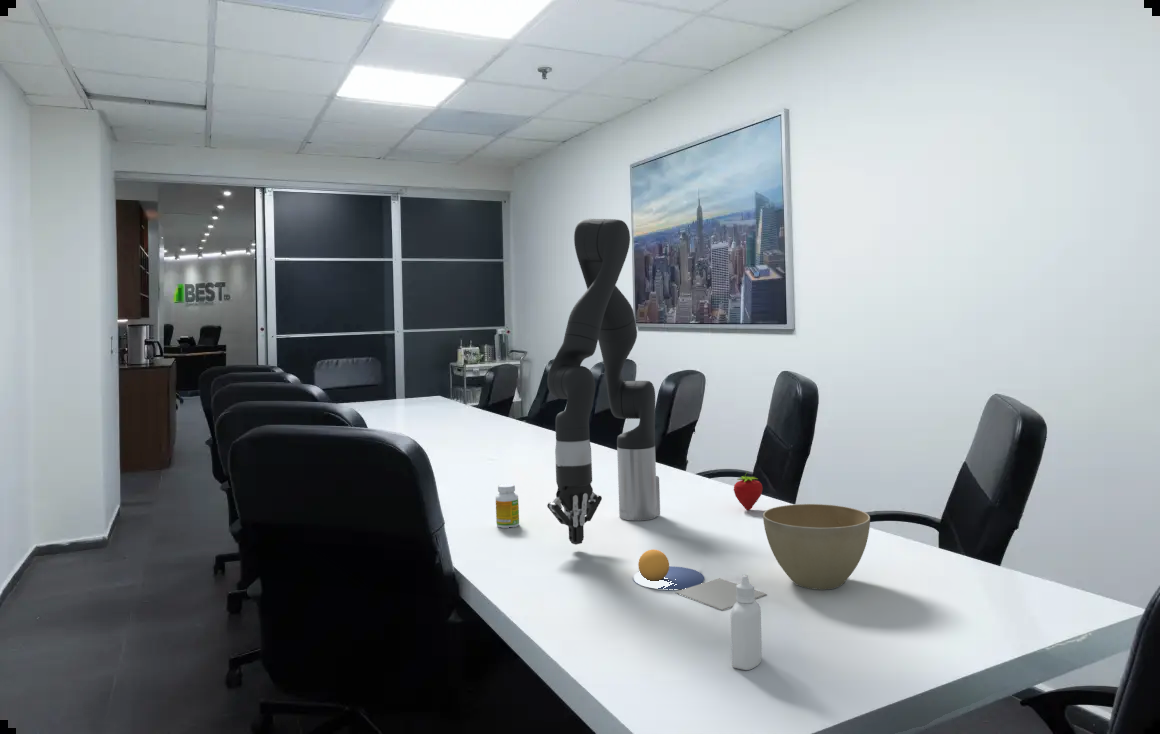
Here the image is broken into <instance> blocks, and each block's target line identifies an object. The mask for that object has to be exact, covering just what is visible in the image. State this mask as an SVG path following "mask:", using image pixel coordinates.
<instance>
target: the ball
mask: <svg viewBox="0 0 1160 734" xmlns="http://www.w3.org/2000/svg"><path fill="white" fill-rule="evenodd" d="M639 557H640V558H639V559H638V564H637V565H638V572H639V571H640V573H641V575H642V576H643V577H644V578H646V579H647V580H650V581H659V580H661V579H663V578H664V577H665V576H666V575H667V573H668V570H669V566H670V562H669V559H668V557H667V555H666V554H665V553H664V552H662V551H661V550H658V549H648V550H646V551H644V552H643V553H642V554H641V556H639Z"/></svg>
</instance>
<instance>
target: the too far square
mask: <svg viewBox="0 0 1160 734" xmlns="http://www.w3.org/2000/svg"><path fill="white" fill-rule="evenodd" d="M738 584H739V583H735V582H733V581H729V580H726V579H723V578H721V577H719V578H716V579H712V580H709V581H706V582H703V583H702V584H699V585H696V586H692V587H689V588H686V589H683V590H675V592H676V593H678V594H677V595H679V594H681V595H683V596H682V597H684V596H686V597H685V598H687V597H688V598H687V599H689V598H691V599H690V600H692V599H694V600H693V601H695V600H697V601H699V602H698V603H700V602H702V603H701V604H703V603H704V604H703V605H706V606H709V607H711V608H714V609H716V610H719V611H725V610H727V609H732V607H733V606H734V604H735V603H736V602H737V600H736V585H738ZM676 593H675V594H676ZM754 593H755V600H756V599H760V598H762V597H766V596H767V595H768V593H766V592H763V591H759V590H757V589H754ZM681 595H680V596H681ZM697 601H696V602H697Z"/></svg>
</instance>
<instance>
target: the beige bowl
mask: <svg viewBox="0 0 1160 734" xmlns="http://www.w3.org/2000/svg"><path fill="white" fill-rule="evenodd" d="M762 519H763V525H764V526H763V527H764V532H765V535H766V539H767V542H768V544H769V547H770V550H771V552H772V554H773V556H774V557H775V560H776V561H777V563H778V565H779V566H780V568H781V569H782V570H783V572H784V573H785V574H786V576H788V578H789V579H790V580H791V582H792V583H794V584H795V585H797V586H798V587H802V588H805V589H810V590H832V589H833V590H834V589H836V588H839V587H841V586H842V585H843V584H844V583H846V581H847V580H848V579H849V577H851V575H852V574H853V573H854V571H855V570H856V569H857V566H858V565H859V563H860V561H861V559H862V557H863V554H864V552H865V549H866V547H867V542H868V539H869V533H870V528H871V527H870V526H871V516H870V515H869V514H868V512H865V511H862V510H860V509H857V508H854V507H853V508H852V507H850V506H849V507H848V506H843V505H842V506H841V505H835V504H821V503H803V504H802V503H801V504H797V503H796V504H787V505H786V504H785V505H779V506H775V507H772V508H768V509H767V510H765V511H763V514H762Z"/></svg>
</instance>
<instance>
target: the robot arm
mask: <svg viewBox="0 0 1160 734" xmlns="http://www.w3.org/2000/svg"><path fill="white" fill-rule="evenodd" d="M573 242H574V249H575V253H576V257H577V261H578V264H579V267H580V270H581V273H582V276H583V279H584V282H585V286H586V289H587V290H586V291H584V293H583V295H581V297H580V298H579V299H578V300H577V302H576V303H575V304H574V306H573V308H572V310H571V312H570V314H569V316H568V320H567V324H566V328H565V332H564V337H563V341H562V342H563V343H562V344H561V345H560V347H559V349H558V351H557V353H556V355H555V357H554V359H553V361H552V363H551V366H550V368H549V371H548V374H547V382H546V383H547V388H548V391H549V393H550V394H551V395H552V397H554V398H556V399H561V400H566V406H565V410H563V411H560V412H559V413H557V414H556V416H555V447H554V448H555V451H554V454H555V459H554V460H555V481H556V485H557V490H556V493H555V496H556V498H555V499H553V501H552V502H548V503H547V504H546V505H547V508H548V509H549V511H550V512H551V513H552V515H553V516H554V517H555V519H557V521H558V522H559V523H560V524H562V525H565V526H567V527H568V539H569V541H570V542H571V544H572V545H575V546H576V545H581V544H582V543H583V541H584V538H585V536H584V535H585V534H584V533H585V532H584V526H585V524H586V523H587V522H591V520H592V518H593V517H594V515H595V513H596V511H597V509H598V507H599V505H600V504H601V502H602V500H603V498H602V495H599V494H596V493H595V492H594V490H593V486H592V483H593V465H592V464H593V463H592V446H591V440H590V439H591V438H590V436H591V435H590V417H591V413H592V407H593V403H594V398H595V394H596V381H595V377H594V374H593V372H592V371H591V369H589V368H588V367H587V366H583V365H582V362H583V361H584V360H585V359H588V358H590V357H592V356H593V355H594V354H595V351H596V349H597V345H599V348H600V352H601V356H602V361H603V367H604V373H605V380H606V390H607V397H608V404H609V408H610V412H611V414H612V415H613V417H614V418H617V419H622V420H626V419H627V420H629V419H630V420H632V419H633V420H634V419H635V420H636V419H637V420H639V423H638V425H637V426H635V428H633V429H631V430H629V431H624V432H623V433H620V434H619V435H617V438H616V451H617V455H616V456H617V481H618V484H617V485H618V514H619V518H620V519H622V520H628V521H647V520H649V521H650V520H653V519H655V518H657V517H658V516H661V496H660V494H661V492H660V477H659V476H658V475H657V467H656V465H657V464H656V390H655V386H654V384H653V383H652V382H651V381H650V380H624V379H623V377H622V371H623V368H624V365H625V363H626V361H627V359H628V357H629V355H630V353H631V351H632V350H633V348H634V346H635V343H636V340H637V337H638V330H637V324H636V319H635V313H634V309H633V307H632V304H631V303H630V301H629V300H628V299H627V297H626V296H625V295H624V294H623V292H621V291H620V289H619V288H618V286H617V283H618V280H619V277H620V274H621V272H622V269H623V267H624V264H625V262H626V258H627V256H628V253H629V249H630V243H631V232H630V229H629V226H628V225H627V223H626V222H625V221H624V220H621V219H618V218H617V219H616V218H615V219H614V218H612V219H611V218H586V219H585V218H584V219H581V220H580V221H579V222H577V224H576V226H575V229H574V235H573Z"/></svg>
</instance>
